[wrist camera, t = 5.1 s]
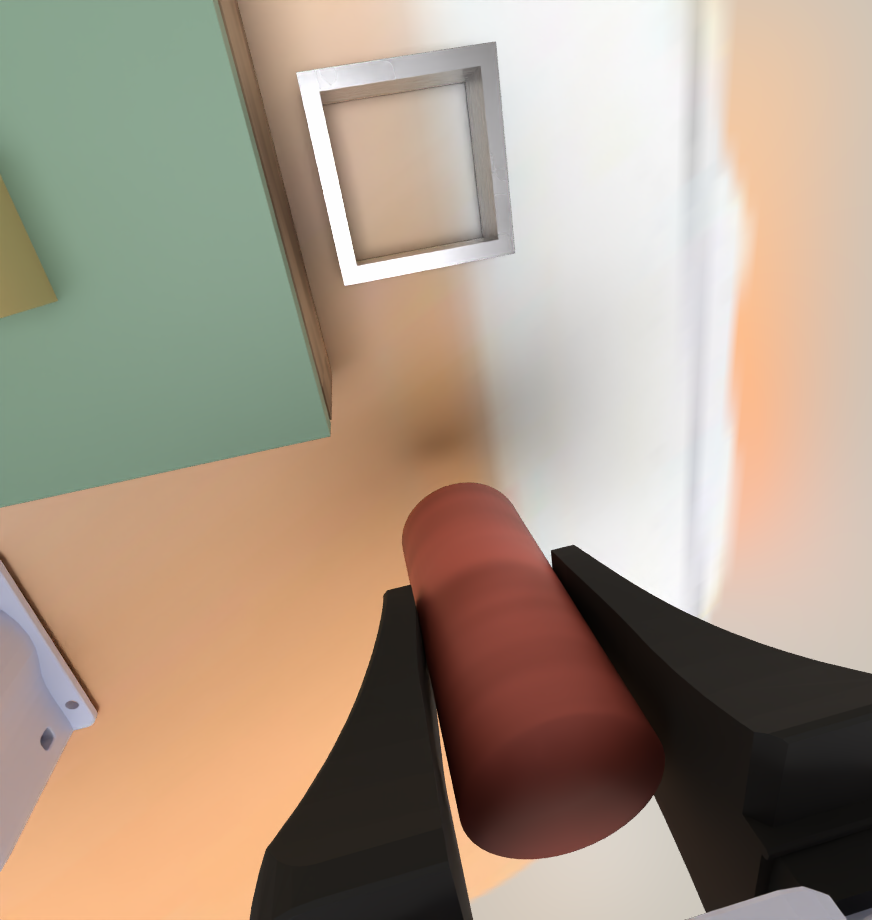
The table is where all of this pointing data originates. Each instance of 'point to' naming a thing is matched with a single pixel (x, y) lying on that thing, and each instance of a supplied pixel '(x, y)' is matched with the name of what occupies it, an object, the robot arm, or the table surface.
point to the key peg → (521, 685)
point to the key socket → (487, 142)
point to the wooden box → (276, 190)
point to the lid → (137, 253)
